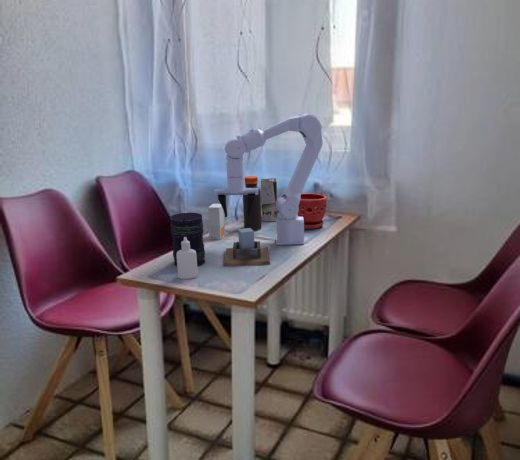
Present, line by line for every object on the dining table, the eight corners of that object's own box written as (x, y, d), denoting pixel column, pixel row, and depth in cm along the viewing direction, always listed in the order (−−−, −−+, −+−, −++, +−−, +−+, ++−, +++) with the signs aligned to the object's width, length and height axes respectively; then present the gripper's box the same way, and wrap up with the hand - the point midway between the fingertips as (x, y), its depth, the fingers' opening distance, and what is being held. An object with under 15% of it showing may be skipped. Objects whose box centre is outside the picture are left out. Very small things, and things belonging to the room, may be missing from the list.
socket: (268, 249, 159) (268, 238, 158) (270, 264, 145) (269, 251, 144) (226, 251, 159) (225, 239, 158) (224, 265, 145) (223, 253, 144)
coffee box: (277, 221, 193) (276, 182, 188) (261, 221, 193) (260, 182, 188) (277, 215, 202) (276, 177, 197) (261, 216, 202) (260, 178, 197)
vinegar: (263, 226, 186) (261, 175, 181) (260, 231, 180) (258, 178, 174) (246, 225, 188) (244, 175, 182) (242, 230, 181) (240, 178, 176)
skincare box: (220, 240, 171) (219, 207, 167) (209, 239, 172) (207, 207, 168) (225, 235, 177) (223, 203, 173) (214, 234, 177) (212, 203, 174)
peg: (251, 251, 154) (250, 227, 152) (254, 255, 151) (253, 231, 148) (239, 253, 153) (238, 229, 151) (242, 256, 150) (241, 232, 147)
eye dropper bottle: (183, 273, 140) (180, 234, 137) (200, 275, 139) (197, 235, 135) (175, 278, 137) (172, 238, 133) (193, 280, 135) (190, 240, 131)
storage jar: (177, 257, 154) (173, 212, 150) (207, 257, 154) (204, 212, 149) (170, 268, 144) (166, 221, 140) (203, 268, 144) (199, 220, 140)
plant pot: (320, 232, 177) (320, 200, 173) (287, 228, 182) (286, 198, 179) (330, 223, 188) (331, 193, 185) (299, 220, 193) (299, 191, 190)
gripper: (257, 173, 162) (258, 212, 166) (214, 174, 162) (216, 213, 165) (257, 177, 155) (259, 217, 159) (213, 178, 155) (215, 218, 159)
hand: (237, 215), depth 162 cm, fingers open, 7 cm apart
